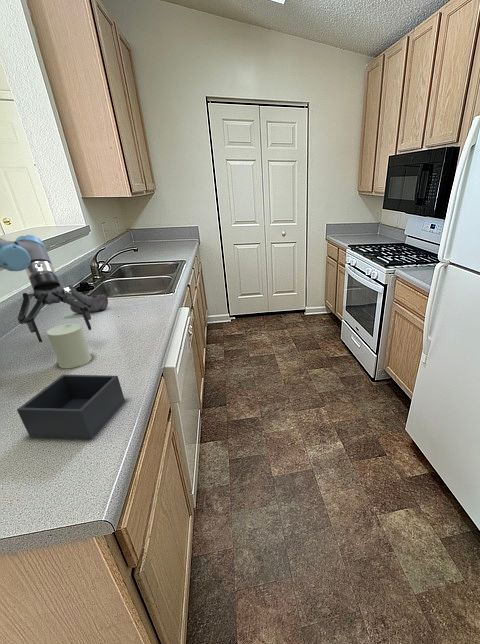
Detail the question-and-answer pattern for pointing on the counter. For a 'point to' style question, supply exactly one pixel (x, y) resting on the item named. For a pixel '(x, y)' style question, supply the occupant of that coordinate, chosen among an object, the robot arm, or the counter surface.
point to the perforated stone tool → (94, 303)
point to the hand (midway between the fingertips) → (66, 334)
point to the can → (69, 345)
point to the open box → (72, 407)
